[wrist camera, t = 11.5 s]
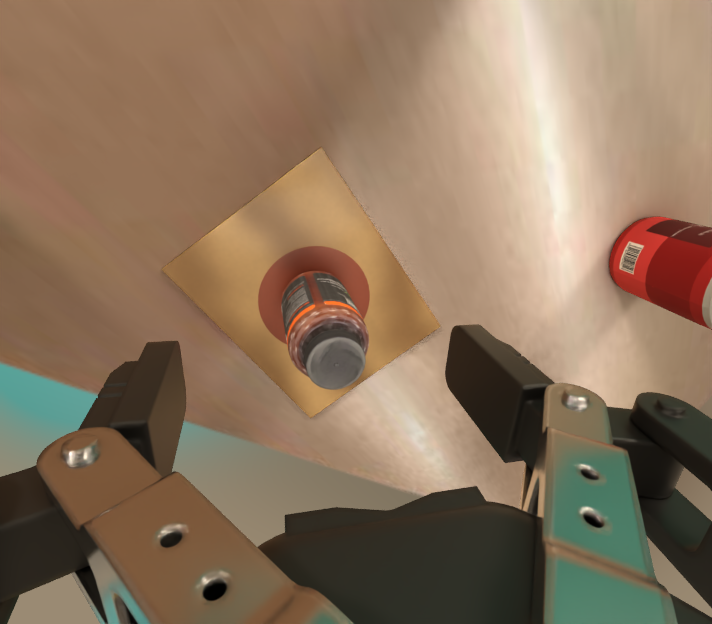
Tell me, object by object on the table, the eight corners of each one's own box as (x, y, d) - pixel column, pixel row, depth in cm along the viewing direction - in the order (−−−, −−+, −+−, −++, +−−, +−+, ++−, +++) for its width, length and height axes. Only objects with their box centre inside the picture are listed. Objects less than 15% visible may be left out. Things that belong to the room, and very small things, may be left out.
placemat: (310, 417, 43) (310, 418, 42) (161, 268, 34) (161, 269, 34) (439, 325, 41) (440, 326, 41) (321, 147, 33) (321, 147, 32)
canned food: (618, 303, 45) (718, 352, 35) (596, 245, 42) (701, 282, 32) (679, 261, 45) (799, 299, 35) (662, 199, 41) (790, 221, 31)
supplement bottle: (274, 325, 38) (280, 398, 27) (288, 262, 35) (299, 316, 25) (338, 334, 39) (366, 407, 29) (354, 275, 37) (390, 330, 27)
